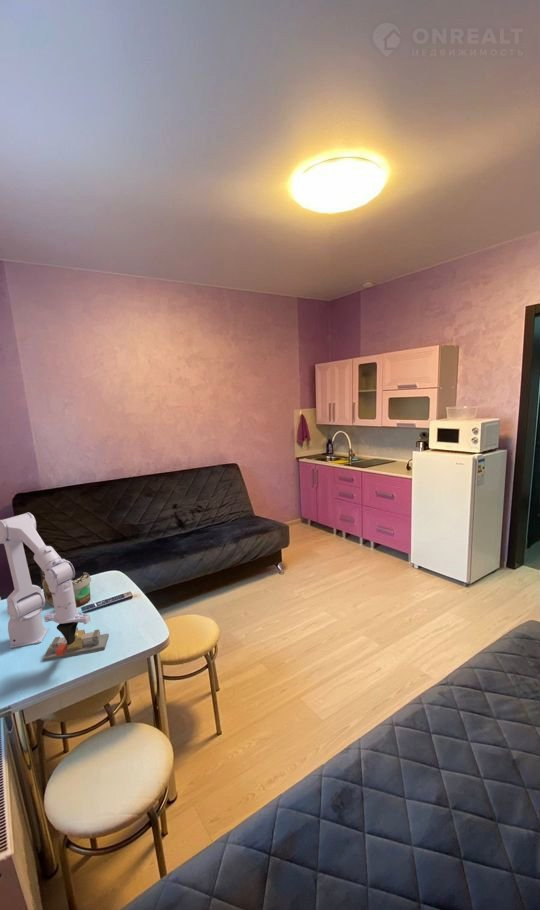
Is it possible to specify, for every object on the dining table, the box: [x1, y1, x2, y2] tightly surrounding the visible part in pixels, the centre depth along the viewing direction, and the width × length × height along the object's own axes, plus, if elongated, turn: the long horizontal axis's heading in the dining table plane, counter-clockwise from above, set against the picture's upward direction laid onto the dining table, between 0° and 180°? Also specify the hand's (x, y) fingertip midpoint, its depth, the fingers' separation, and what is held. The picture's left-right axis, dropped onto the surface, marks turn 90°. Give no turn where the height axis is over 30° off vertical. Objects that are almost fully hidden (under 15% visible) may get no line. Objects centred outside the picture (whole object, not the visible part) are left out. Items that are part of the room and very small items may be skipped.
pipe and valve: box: [50, 629, 101, 653], centre depth 124 cm, size 14×4×4 cm, turn 103°
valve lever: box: [56, 626, 79, 656], centre depth 119 cm, size 12×2×2 cm, turn 5°
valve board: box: [42, 633, 110, 662], centre depth 125 cm, size 18×7×1 cm, turn 103°
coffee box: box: [38, 565, 54, 607], centre depth 155 cm, size 9×6×16 cm
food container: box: [72, 572, 92, 608], centre depth 153 cm, size 12×6×10 cm, turn 168°
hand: (71, 642), depth 118 cm, fingers closed, pressing on valve lever
